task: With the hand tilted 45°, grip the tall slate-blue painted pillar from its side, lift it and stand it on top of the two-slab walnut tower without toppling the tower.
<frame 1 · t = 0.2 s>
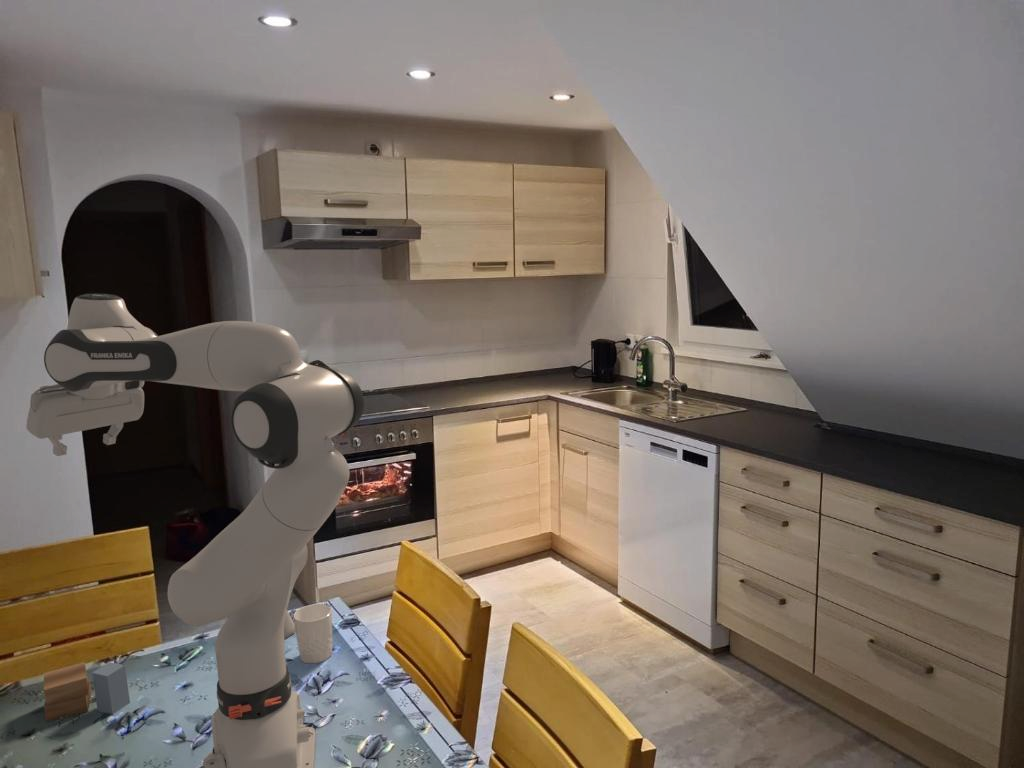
hand: (85, 448, 140), 51 cm above the table, tool tilted 20°, fingers open, 8 cm apart
white cup: (316, 656, 163), on the table
pillar: (113, 706, 147), on the table
flask: (280, 633, 173), on the table
tower base: (70, 708, 147), on the table, touching tower top
tower top: (67, 691, 147), point 3 cm above the table, touching tower base
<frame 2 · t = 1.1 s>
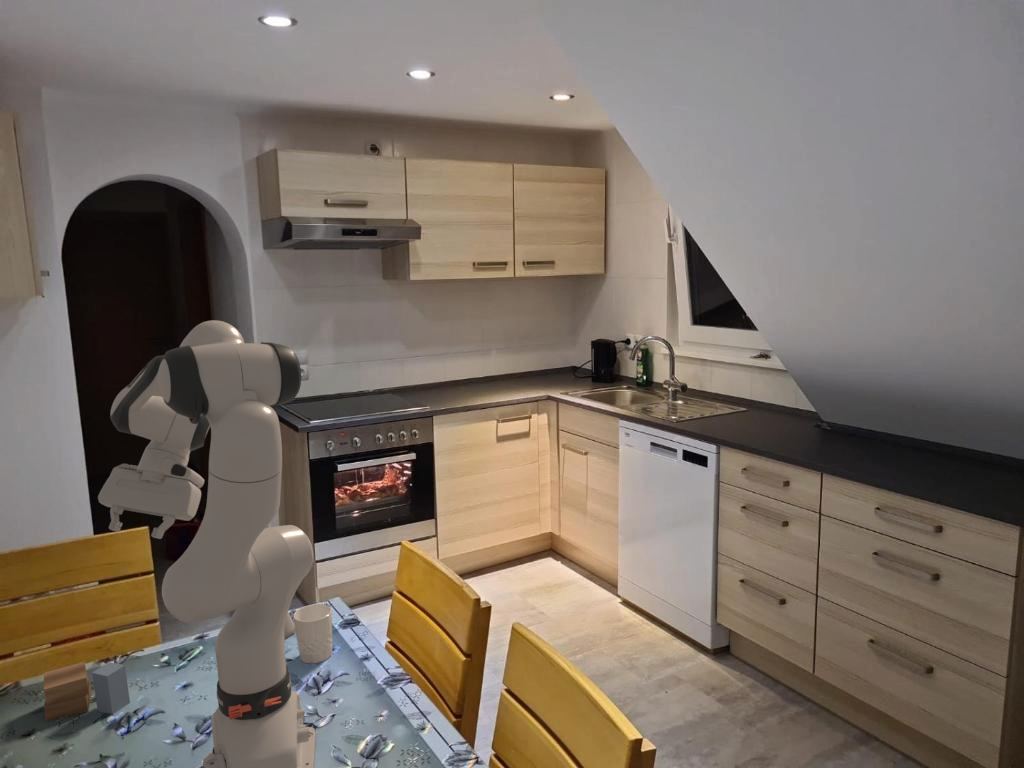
hand: (134, 533, 151), 31 cm above the table, tool tilted 40°, fingers open, 8 cm apart
nothing on the table moved.
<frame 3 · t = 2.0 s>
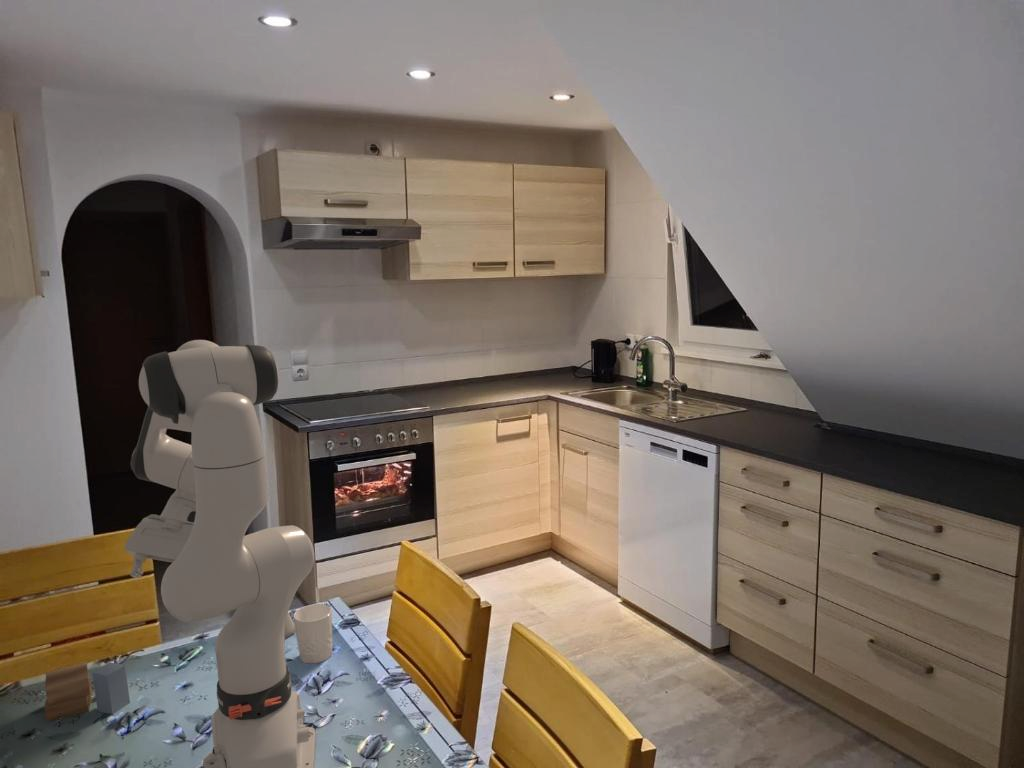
hand: (151, 580, 155), 21 cm above the table, tool tilted 45°, fingers open, 8 cm apart
nothing on the table moved.
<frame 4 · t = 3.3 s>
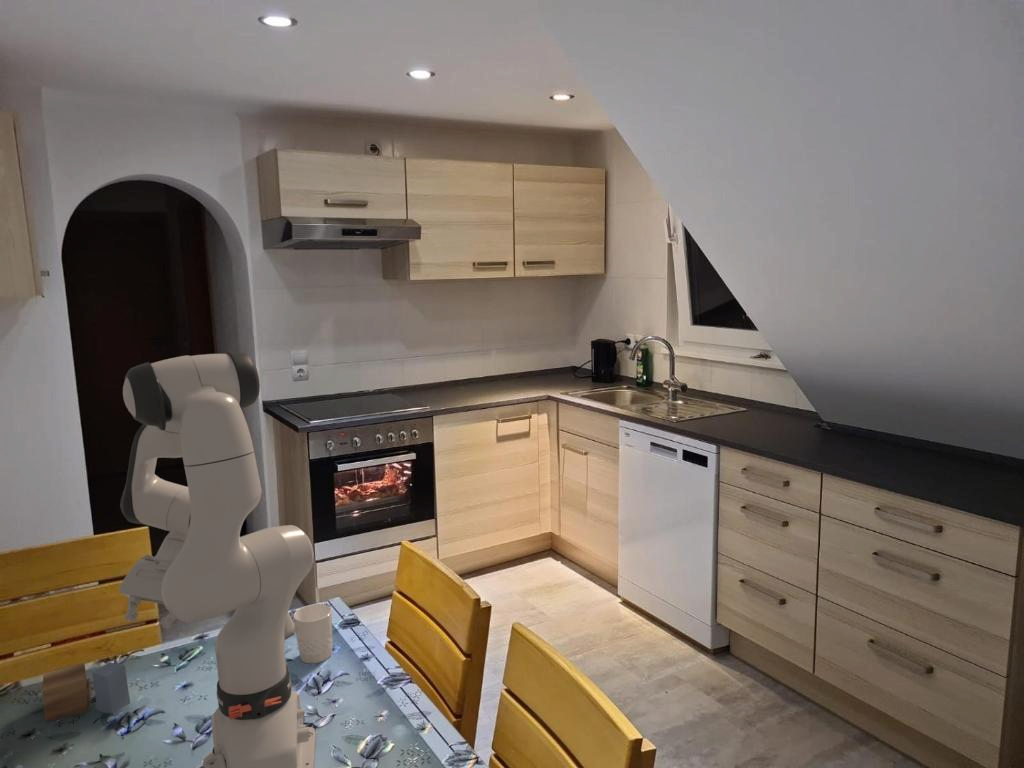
hand: (146, 623, 153), 12 cm above the table, tool tilted 45°, fingers open, 8 cm apart
nothing on the table moved.
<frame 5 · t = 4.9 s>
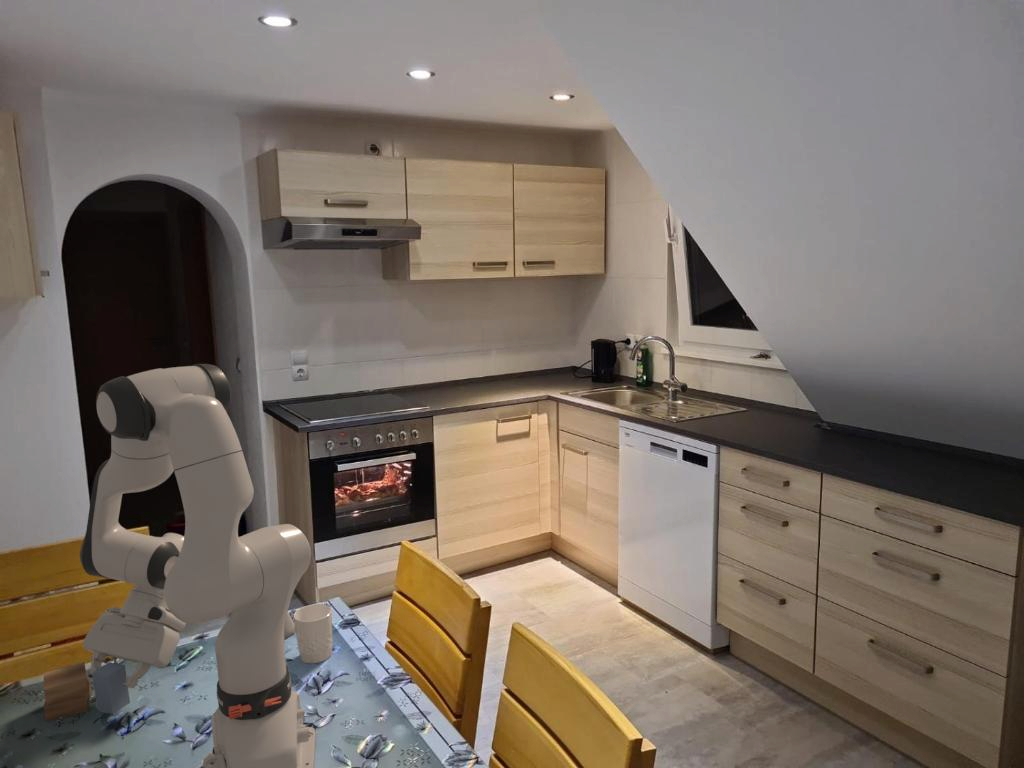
hand: (110, 682, 146), 5 cm above the table, tool tilted 45°, fingers open, 8 cm apart
tower top: (67, 691, 147), point 3 cm above the table, touching gripper, tower base
everything else where it was.
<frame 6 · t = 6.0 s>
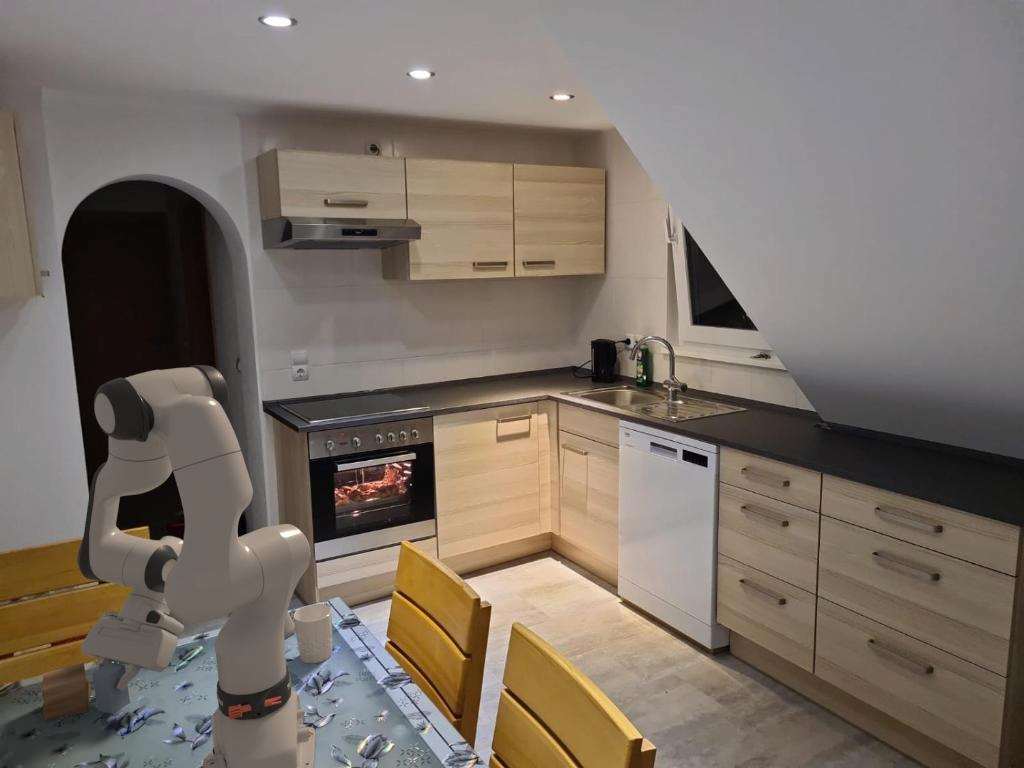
hand: (108, 686, 145), 5 cm above the table, tool tilted 45°, fingers closed on pillar, 4 cm apart
pillar: (113, 706, 147), on the table, touching gripper
tower top: (66, 692, 146), point 3 cm above the table, touching tower base
everything else where it was.
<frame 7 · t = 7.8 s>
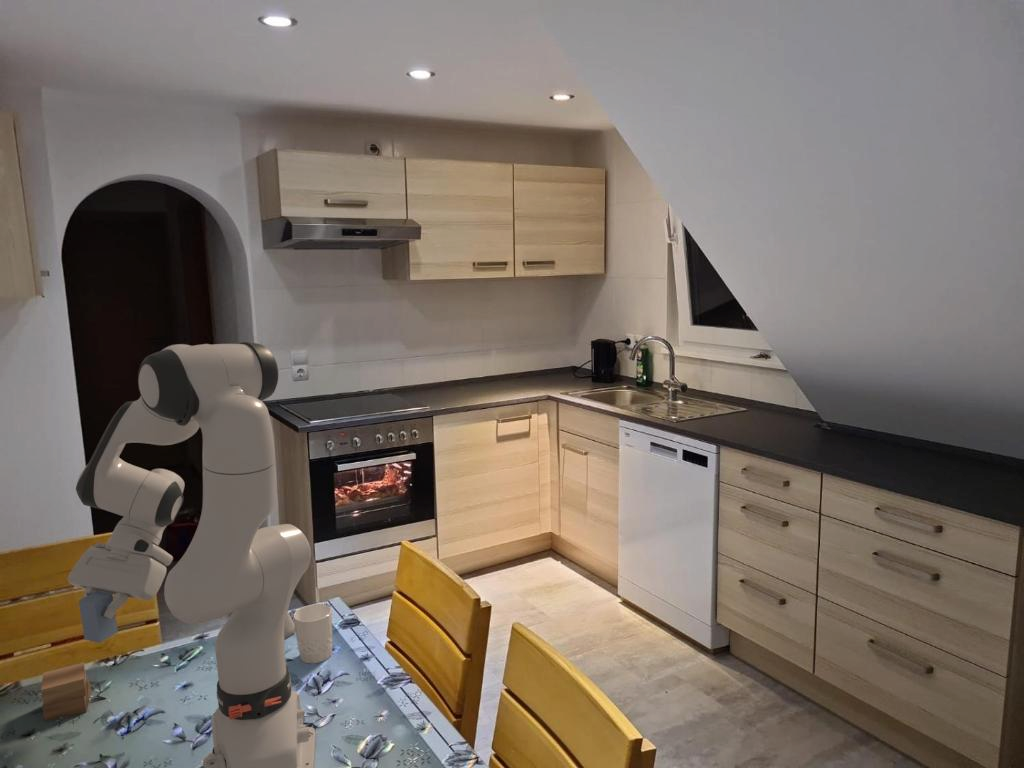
hand: (95, 615, 143), 19 cm above the table, tool tilted 45°, fingers closed on pillar, 4 cm apart
pillar: (101, 636, 144), point 15 cm above the table, touching gripper
everything else where it was.
when the fingers open (13 cm above the table, at t = 10.2 s): pillar drops 2 cm, resting on tower top.
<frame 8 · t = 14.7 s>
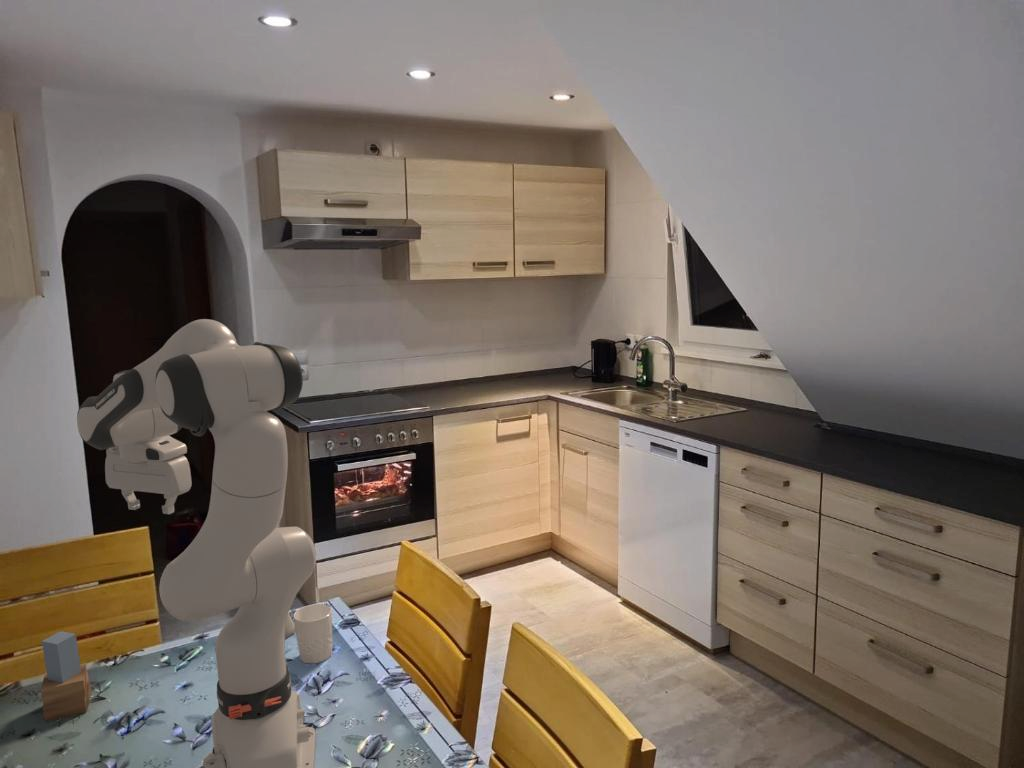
hand: (151, 511, 156), 34 cm above the table, tool pointing down, fingers open, 8 cm apart
pillar: (64, 675, 146), point 7 cm above the table, touching tower top
tower top: (66, 692, 146), point 3 cm above the table, touching pillar, tower base
everything else where it was.
at the end: pillar 0.1 cm off-centre on the tower top, point 3.5 cm above the tower top's base; pillar tilted 0°; tower top moved 0.4 cm from its start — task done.
